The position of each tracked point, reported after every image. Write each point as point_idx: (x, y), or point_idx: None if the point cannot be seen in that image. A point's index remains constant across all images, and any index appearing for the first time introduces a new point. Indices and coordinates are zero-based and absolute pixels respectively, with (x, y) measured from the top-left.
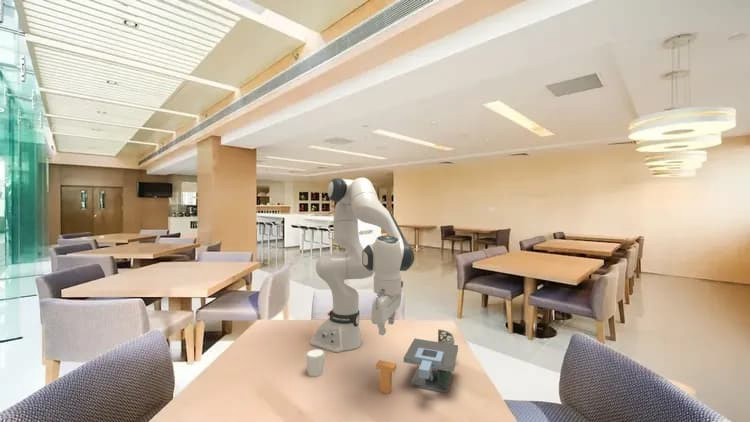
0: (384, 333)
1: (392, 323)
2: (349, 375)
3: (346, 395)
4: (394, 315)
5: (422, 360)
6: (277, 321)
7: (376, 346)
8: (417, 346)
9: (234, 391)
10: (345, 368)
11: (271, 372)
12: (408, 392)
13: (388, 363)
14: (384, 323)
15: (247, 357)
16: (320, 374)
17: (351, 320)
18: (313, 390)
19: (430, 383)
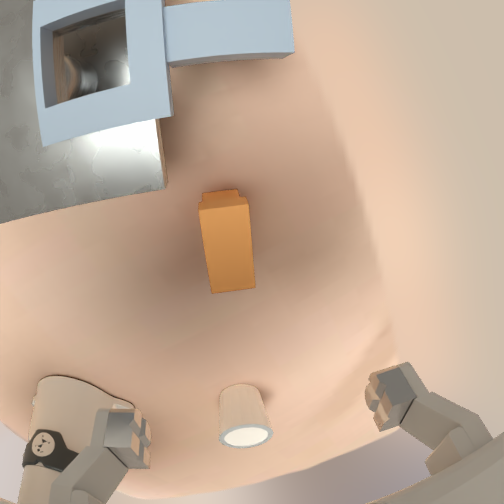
0: (409, 369)
1: (137, 416)
2: (206, 336)
3: (302, 294)
4: (87, 470)
5: (178, 59)
6: (124, 491)
7: (25, 340)
8: (8, 180)
9: (350, 426)
10: (180, 359)
11: (281, 434)
12: (197, 127)
13: (219, 244)
14: (468, 433)
15: (255, 469)
16: (245, 385)
17: (71, 458)
18: (310, 360)
19: (117, 69)
